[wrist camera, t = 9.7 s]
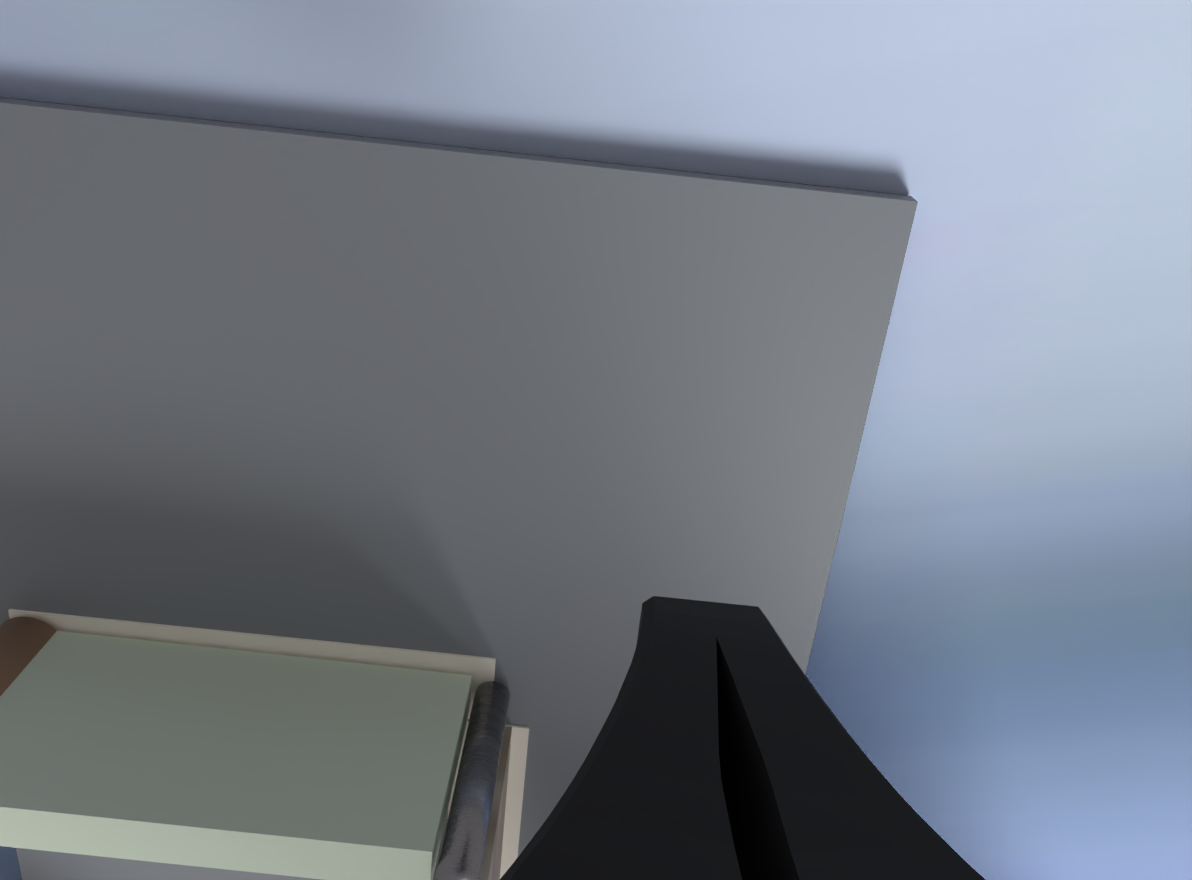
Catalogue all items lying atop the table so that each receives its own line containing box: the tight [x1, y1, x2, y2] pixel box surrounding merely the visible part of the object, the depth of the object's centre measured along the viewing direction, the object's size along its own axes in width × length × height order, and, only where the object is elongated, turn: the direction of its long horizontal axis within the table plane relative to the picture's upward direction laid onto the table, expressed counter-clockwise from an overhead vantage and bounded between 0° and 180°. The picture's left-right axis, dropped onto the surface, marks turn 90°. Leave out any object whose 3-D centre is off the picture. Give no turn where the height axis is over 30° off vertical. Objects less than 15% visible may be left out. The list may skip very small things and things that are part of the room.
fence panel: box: [0, 617, 510, 880], centre depth 20 cm, size 12×2×5 cm, turn 84°
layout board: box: [0, 98, 917, 880], centre depth 23 cm, size 19×22×1 cm
